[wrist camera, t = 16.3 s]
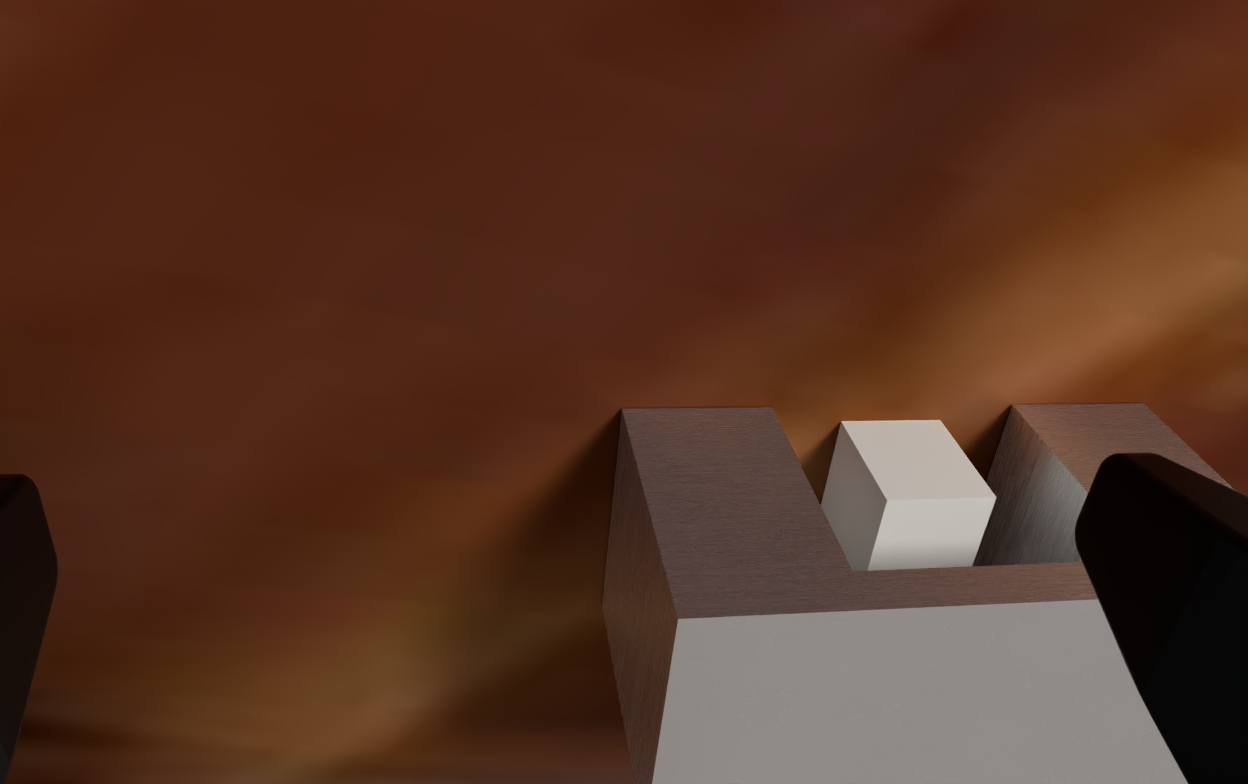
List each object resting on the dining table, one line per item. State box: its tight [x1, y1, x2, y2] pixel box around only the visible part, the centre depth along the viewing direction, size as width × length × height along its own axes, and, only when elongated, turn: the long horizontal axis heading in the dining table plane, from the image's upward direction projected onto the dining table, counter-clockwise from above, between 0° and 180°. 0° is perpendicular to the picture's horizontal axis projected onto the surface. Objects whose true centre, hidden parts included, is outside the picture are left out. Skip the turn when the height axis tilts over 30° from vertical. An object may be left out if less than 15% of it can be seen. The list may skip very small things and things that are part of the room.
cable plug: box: [821, 420, 997, 571], centre depth 28 cm, size 20×4×4 cm, turn 175°
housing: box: [602, 404, 1234, 784], centre depth 23 cm, size 13×6×6 cm, turn 85°
